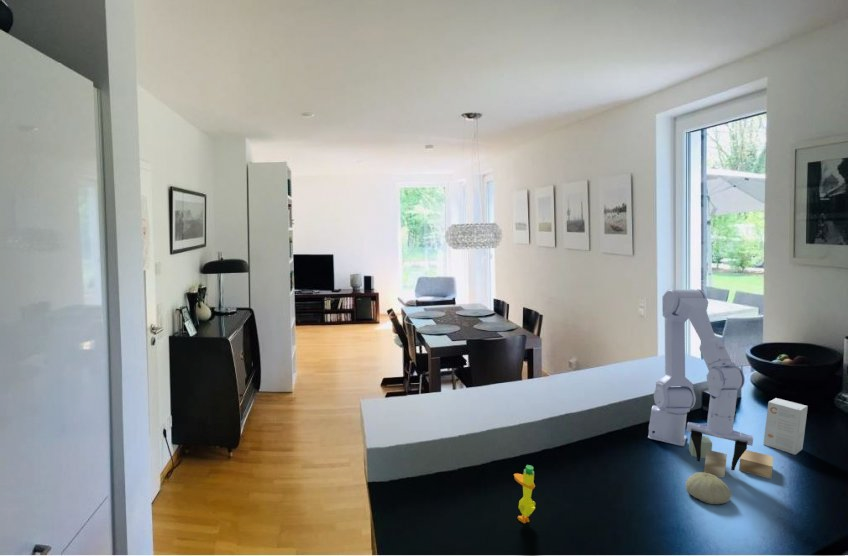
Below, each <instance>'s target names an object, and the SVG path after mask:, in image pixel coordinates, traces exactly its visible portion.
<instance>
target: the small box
mask: <svg viewBox="0 0 848 556" xmlns="http://www.w3.org/2000/svg"><path fill="white" fill-rule="evenodd" d="M808 407H809V406H808V405H804V404H802V403H798V402H794V401H789V400H785V399H782V398H777V397H775V398H773V399H772V400H769V401H768V403H767V412H766V418H765V419H766V421H765V428H764V434H763V445H764V446H766V447H769V448H774V449H776V450H779V451H783V452H786V453H787V454H788V453H789V454H792V455H794V456H795V455H797V454H798V453H800V452H801V451H802V450H803V445H804V440H805V432H806V431H805V430H806V424H807V414H808Z"/></svg>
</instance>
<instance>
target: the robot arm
mask: <svg viewBox="0 0 848 556" xmlns="http://www.w3.org/2000/svg"><path fill="white" fill-rule="evenodd" d="M708 306H709V301H708V299H707V295H706V293H705V291H703V289H674V288H668V289H667V290H666V291H665V293H664V294H663V296H662V317H664V373H665V374H664V375H663V376H662V377H661V378H659V379H657V380H656V381H655V388H654V392H653V400H654V405H652V407H651V409H650V411H651V412H650V417H649V424H648V436H647V438H648V439H650V440H655V441H660V442H664V443H667V444H671V445H676V446H679V447H685V444H686V440H687V435H685V432H689V433H690V434H691V439H692V441H693V444H694V446H695V450H696V455H697V457H696V462H700V461H701V458H700V457H701V441H702V436H703V435H704V436H705V435H706V436H711V437H715V438H719V439H722V440H723V439H724V440H728V441H733V442H734V449H733V456H732V461H731V466H730V467H731V468H730V470H731V471H735V469H736V466H737V464H738V462H739V461H740V457H741V456H742V454H743V453H744V452H745V451H746V450H748V449H747V448H748V446H751V447H753V446H754V445H753V443H754V435H750V434H747V433H743V432H740V431H737V430H734V424H735V416H736V415H735V414H736V413H735V412H736V408H737V407H736V405H737V400H738V391H739V390H741V389H742V388H743V387H744V386H745V382H746V381H745V375H744V371H743V369H742V368H741V367H739V366H738V365H736V363H735V362H733V361H732V360H731V357H730V355H729V353H728V350H727V349H726V346H725V344H724V342H723V341H722V340H720V339H718V338H717V337H716V335H715V332H714V330H713V326H712V323H711V321H710V317H709V315H708V311H707V310H708V308H709V307H708ZM688 320H689V321H690V324H691V325H692V327H693V329H694V330H695V332H696V334H697V336H698V338H699V340H700V342H701V343H700V345H699V347H698V349H699V351H700V353H701V355H702V357H703V358H702V359H703V361H704V363H705V365H706V367H707V370H708V373H707V374H706V381H707V382H706V383H707V384H708V385H707V386H708V394H709V395H710V396H709V403H708V410H707V411H708V413H707V419H706V421H707V422H706V423H696V422H690V421H688V422H687V416H688V413H690V410H691V409H693V407H694V406H695V404H696V400H697V397H696V393H695V391H694V383H692V382H691V381H690V380H689V379H688V378H687V377H686V346H685V345H686V337H685V334H686V332H685V330H686V329H685V326H686V325H685V323H686V322H687V321H688Z"/></svg>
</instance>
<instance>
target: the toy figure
mask: <svg viewBox="0 0 848 556" xmlns="http://www.w3.org/2000/svg"><path fill="white" fill-rule="evenodd" d="M513 476H514V480H515V481H516V482H517V483H518V484H520V485H521V486H522V494H523V495H522V498H521V499H520V500H519V502H518V510H519V511H520V513H521V515H518V516H517V519H518V521H519V522H521V523H523V524H526V523H530V519H529V517H530V516H531V515H532V514H533V512H534V511H535V510H536V502H535V501H534V500H533V499H532V493H533V490H534V489H535V487H536V485H535V483H534V480H535V471H534V466H533V465H530V464H526V466H525V468H524V469H523V473H522V474H521V473H518V472H517V473H514V474H513Z"/></svg>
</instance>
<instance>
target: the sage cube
mask: <svg viewBox="0 0 848 556" xmlns="http://www.w3.org/2000/svg"><path fill="white" fill-rule="evenodd" d="M712 449H713V443H712V441H711V439H710V437H709V436H708V435H706V436H705V435H702V441H701V457H700V459H706V452H707V450H711V451H713V450H712ZM688 451H689V453H690V455H691V457H695V458H697V455H696V450H695V446H694V444H693V441H692V439H691V433H690V435H689V444H688Z"/></svg>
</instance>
